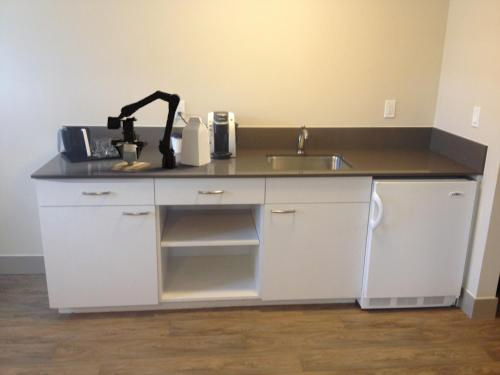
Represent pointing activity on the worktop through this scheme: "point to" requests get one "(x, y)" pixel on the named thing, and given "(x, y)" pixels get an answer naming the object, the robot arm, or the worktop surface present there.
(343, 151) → the worktop surface
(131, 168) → the base
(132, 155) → the cap
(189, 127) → the milk
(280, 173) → the worktop surface
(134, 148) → the pill bottle
